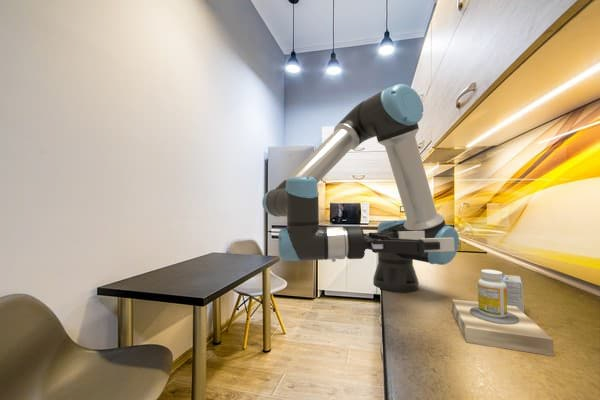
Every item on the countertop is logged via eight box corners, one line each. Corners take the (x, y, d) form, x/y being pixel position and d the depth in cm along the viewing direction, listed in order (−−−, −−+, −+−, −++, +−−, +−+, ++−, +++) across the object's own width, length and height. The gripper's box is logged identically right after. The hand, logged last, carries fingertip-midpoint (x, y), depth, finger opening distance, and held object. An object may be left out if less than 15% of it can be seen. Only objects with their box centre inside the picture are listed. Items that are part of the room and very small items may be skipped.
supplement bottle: (490, 319, 58) (489, 274, 58) (473, 309, 63) (471, 269, 63) (514, 318, 58) (512, 273, 59) (494, 308, 64) (492, 268, 64)
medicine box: (524, 317, 67) (523, 282, 67) (501, 313, 70) (500, 279, 70) (522, 307, 73) (521, 276, 74) (501, 304, 76) (501, 273, 76)
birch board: (452, 310, 72) (452, 297, 72) (516, 318, 66) (515, 304, 66) (466, 342, 55) (466, 325, 55) (553, 355, 50) (553, 337, 50)
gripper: (339, 249, 75) (415, 247, 74) (356, 272, 50) (471, 269, 49) (338, 222, 75) (414, 220, 74) (354, 232, 50) (469, 228, 49)
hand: (437, 239), depth 62 cm, fingers open, 13 cm apart
